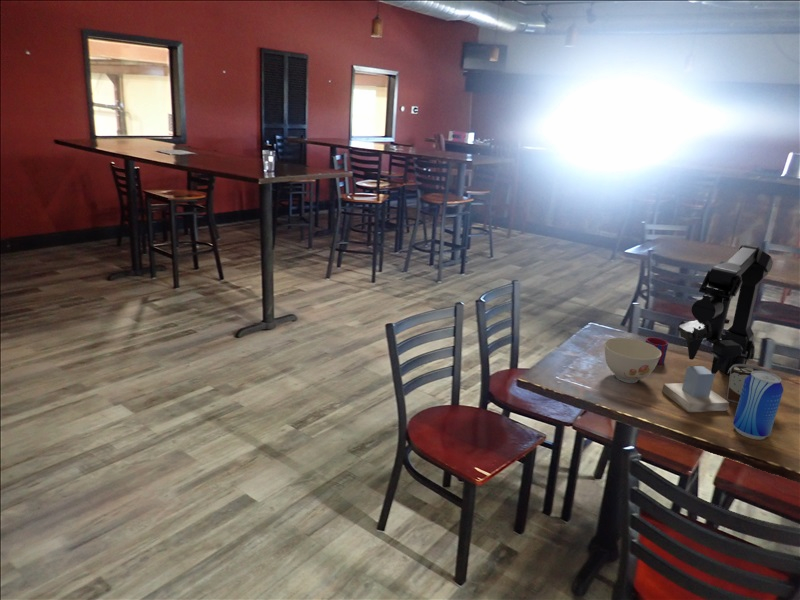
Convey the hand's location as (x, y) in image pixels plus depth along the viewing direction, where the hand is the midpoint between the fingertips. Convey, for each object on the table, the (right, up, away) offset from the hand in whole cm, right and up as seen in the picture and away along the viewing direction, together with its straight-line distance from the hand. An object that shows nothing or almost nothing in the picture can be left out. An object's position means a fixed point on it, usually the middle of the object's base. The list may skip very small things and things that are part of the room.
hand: (701, 366), depth 161 cm
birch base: (0, -10, +4) cm, 11 cm away
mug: (0, -1, +31) cm, 31 cm away
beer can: (+6, -16, -11) cm, 21 cm away
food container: (+15, -11, +6) cm, 20 cm away
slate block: (0, -8, +3) cm, 8 cm away
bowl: (-15, -6, +15) cm, 22 cm away
